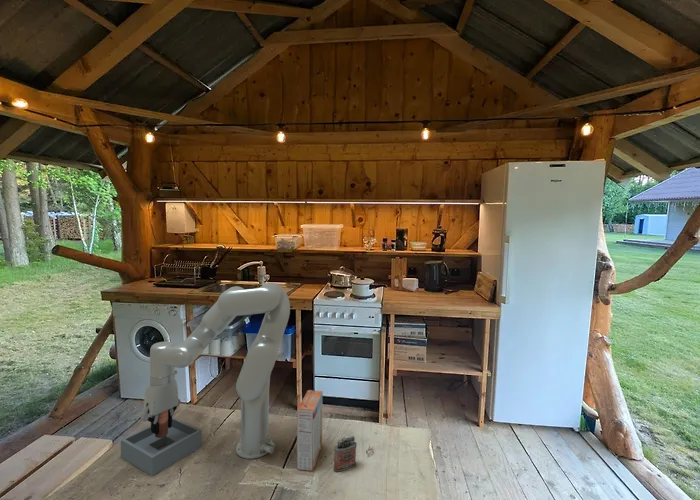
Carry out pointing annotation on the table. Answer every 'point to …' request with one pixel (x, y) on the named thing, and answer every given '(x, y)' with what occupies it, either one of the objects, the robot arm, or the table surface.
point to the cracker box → (309, 430)
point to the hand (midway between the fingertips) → (161, 429)
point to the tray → (144, 446)
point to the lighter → (345, 454)
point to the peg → (162, 424)
